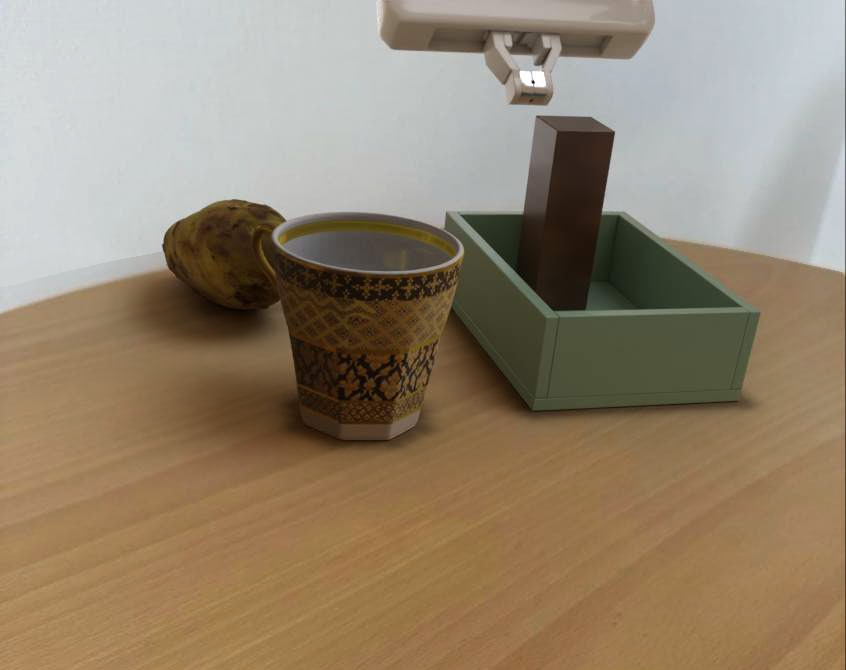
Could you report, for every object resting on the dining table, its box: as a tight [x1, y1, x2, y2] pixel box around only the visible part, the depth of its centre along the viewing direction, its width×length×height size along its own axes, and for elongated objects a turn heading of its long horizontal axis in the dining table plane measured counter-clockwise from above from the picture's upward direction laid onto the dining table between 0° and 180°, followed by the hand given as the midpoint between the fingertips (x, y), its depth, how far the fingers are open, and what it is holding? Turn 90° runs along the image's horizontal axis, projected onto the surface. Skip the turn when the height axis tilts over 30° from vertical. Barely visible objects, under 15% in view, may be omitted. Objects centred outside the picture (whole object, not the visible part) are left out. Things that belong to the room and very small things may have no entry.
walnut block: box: [516, 114, 616, 311], centre depth 78 cm, size 4×4×12 cm
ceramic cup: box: [251, 211, 464, 441], centre depth 63 cm, size 13×10×10 cm
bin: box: [443, 210, 762, 412], centre depth 75 cm, size 14×20×6 cm
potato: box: [161, 198, 287, 311], centre depth 74 cm, size 8×13×8 cm, turn 13°
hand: (530, 100), depth 81 cm, fingers closed
